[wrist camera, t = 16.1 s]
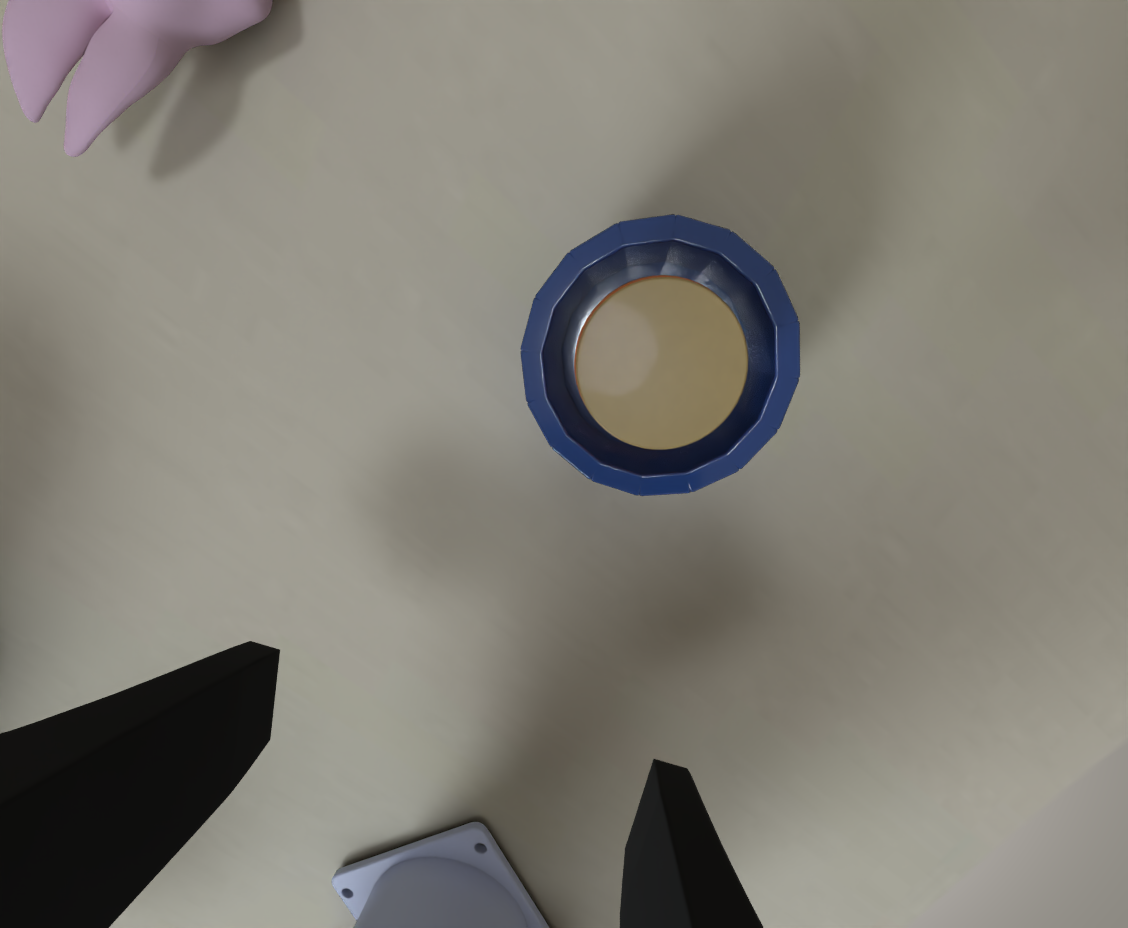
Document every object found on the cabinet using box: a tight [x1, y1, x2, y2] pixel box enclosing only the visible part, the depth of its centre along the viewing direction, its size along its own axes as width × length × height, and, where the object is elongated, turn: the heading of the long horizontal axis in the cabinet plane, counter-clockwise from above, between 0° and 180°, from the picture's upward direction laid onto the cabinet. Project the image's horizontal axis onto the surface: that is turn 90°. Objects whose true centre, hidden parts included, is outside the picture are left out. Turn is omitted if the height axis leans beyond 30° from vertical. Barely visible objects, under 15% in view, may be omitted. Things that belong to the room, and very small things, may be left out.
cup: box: [521, 214, 800, 496], centre depth 16 cm, size 7×7×4 cm
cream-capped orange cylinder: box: [574, 275, 748, 450], centre depth 14 cm, size 4×4×6 cm
